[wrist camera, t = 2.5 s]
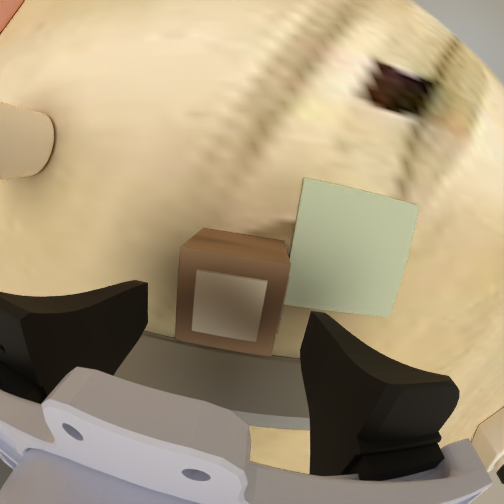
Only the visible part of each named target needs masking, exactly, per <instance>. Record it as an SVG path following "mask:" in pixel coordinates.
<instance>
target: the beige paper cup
mask: <svg viewBox="0 0 504 504" xmlns="http://www.w3.org/2000/svg"><path fill="white" fill-rule="evenodd" d="M53 143H54V129H53V124H52V122H51V120H50V118H49V117H48V116H47V115H46V114H44V113H42V112H38V111H33V110H28V109H25V108H21V107H18V106H15V105H11V104H8V103H4V102H1V101H0V181H3V180H8V179H13V178H19V177H29V176H33V175H35V174H37V173H38V172H39V171H40V170H42V168H43V167H44V166H45V164H46V163H47V161H48V159H49V157H50V154H51V152H52V148H53Z"/></svg>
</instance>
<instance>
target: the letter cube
mask: <svg viewBox="0 0 504 504" xmlns="http://www.w3.org/2000/svg"><path fill="white" fill-rule="evenodd" d="M290 267H291V263H290V260H289V256H288V253H287V250H286V246H285V243H284V241H281V240H275V239H269V238H263V237H257V236H251V235H245V234H239V233H232V232H226V231H220V230H213V229H207V228H203V229H202V230H201V231H199V232H198V233H197V234H196V235H194V236H193V237H192V238H191V239H189V240H188V241H187V242H186V243H185V244H183V245H182V246H181V247H180V259H179V272H178V287H177V305H176V329H175V339H176V340H181V341H185V342H190V343H195V344H199V345H204V346H210V347H215V348H220V349H226V350H232V351H238V352H244V353H250V354H257V355H264V356H271V352H272V348H273V344H274V340H275V335H276V334H277V333H278V328H279V324H280V320H281V315H282V311H283V306H284V302H285V297H286V293H287V288H288V284H289V279H290V276H289V272H290Z"/></svg>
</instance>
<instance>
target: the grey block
mask: <svg viewBox="0 0 504 504" xmlns="http://www.w3.org/2000/svg"><path fill="white" fill-rule="evenodd" d="M114 376H115V377H118V378H121V379H124V380H127V381H130V382H133V383H137V384H140V385H143V386H147V387H150V388H153V389H157V390H161V391H164V392H168V393H172V394H176V395H180V396H185V397H189V398H194V399H198V400H203V401H206V402H209V403H212V404H214V405H217V406H220V407H223V408H226V409H229V410H231V411H232V412H233V413H234V414H235V415H237V416H238V417H239V418H240V419H241V420H243V421H244V422H245V423H246V424H247V425H249V426H257V427H267V428H278V429H292V430H310V418H309V409H308V403H307V398H306V392H305V387H304V382H303V377H302V372H301V362H300V359H297V358H288V357H279V356H272V355H271V356H264V355H257V354H250V353H244V352H238V351H232V350H226V349H220V348H215V347H210V346H204V345H199V344H195V343H190V342H185V341H181V340H176V339H175V338H172V337H167V336H163V335H159V334H155V333H151V332H147V331H143V333H142V335H141V337H140V339H139V340H138V342H137V343H136V345H135V346H134V347H133V349H132V350H131V351H130V353H129V354H128V356H127V357H126V358H125V360H124V361H123V362H122V364H121V365H120V367H119V368H118V369H117V371H116V372H115V374H114Z"/></svg>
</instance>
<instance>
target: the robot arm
mask: <svg viewBox="0 0 504 504" xmlns="http://www.w3.org/2000/svg"><path fill="white" fill-rule="evenodd" d="M147 323H148V283H146V282H142V281H137V280H133V281H127V282H123V283H119V284H116V285H112V286H108V287H105V288H101V289H97V290H93V291H88V292H84V293H79V294H73V295H65V296H49V297H33V296H21V295H14V294H8V293H2V292H0V458H1V459H2V460H3V461H4V462H5V463H6V464H7V465H9V466H10V467H11V468H12V469H13V472H12V473H11V475H10V476H9V478H8V479H7V481H6V482H5V484H4V485H3V487H2V489H1V490H0V504H469V503H470V502H471V501H473V500H474V499H475V498H477V497H478V496H479V495H480V494H481V493H483V492H484V491H485V490H486V489H487V488H489V486H491V485H492V483H493V482H492V480H491V478H490V476H489V474H488V472H487V470H486V468H485V466H484V465H483V463H482V461H481V459H480V457H479V456H478V454H477V452H476V450H475V449H474V447H473V445H472V443H471V442H470V440H469V439H463V440H460V441H457V442H454V443H451V444H448V445H446V446H444V447H443V448H441V449H440V447H439V445H438V443H437V442H440V440H441V435H440V434H439V432H438V431H439V430H440V429H441V427H442V426H443V425H444V423H445V422H446V421H447V419H448V418H449V417H450V415H451V414H452V412H453V411H454V409H455V407H456V405H457V402H458V399H459V389H458V387H457V386H456V385H455V383H454V382H453V381H452V379H451V378H450V377H449V376H446V375H441V374H436V373H431V372H427V371H423V370H420V369H417V368H413V367H410V366H408V365H405V364H402V363H400V362H398V361H395V360H393V359H391V358H389V357H387V356H385V355H383V354H381V353H379V352H378V351H376V350H374V349H372V348H371V347H369V346H368V345H366V344H365V343H363V342H362V341H360V340H359V339H358V338H356V337H355V336H354V335H352V334H351V333H350V332H349V331H347V330H346V329H345V328H344V327H342V326H341V325H340V324H339V323H338V322H336V321H335V320H334V319H333V318H331V317H330V316H329V315H327V314H326V313H322V312H314V311H311V313H310V317H309V321H308V324H307V328H306V331H305V335H304V338H303V342H302V345H301V349H300V362H301V372H302V377H303V382H304V387H305V392H306V398H307V403H308V409H309V418H310V474H305V473H299V472H294V471H289V470H285V469H280V468H276V467H272V466H268V465H264V464H260V463H256V462H253V461H250V450H251V436H250V431H249V426H248V425H247V424H246V423H245V422H244V421H243V420H241V419H240V418H239V417H238V416H237V415H235V414H234V413H233V412H232V411H231V410H229V409H226V408H223V407H220V406H217V405H214V404H212V403H209V402H206V401H203V400H198V399H194V398H189V397H185V396H180V395H176V394H172V393H168V392H164V391H161V390H157V389H153V388H150V387H147V386H143V385H140V384H137V383H133V382H130V381H127V380H124V379H121V378H118V377H115V376H114V374H115V372H116V371H117V369H118V368H119V367H120V365H121V364H122V362H123V361H124V360H125V358H126V357H127V356H128V354H129V353H130V351H131V350H132V349H133V347H134V346H135V345H136V343H137V342H138V340H139V339H140V337H141V335H142V333H143V331H144V329H145V327H146V325H147Z"/></svg>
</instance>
